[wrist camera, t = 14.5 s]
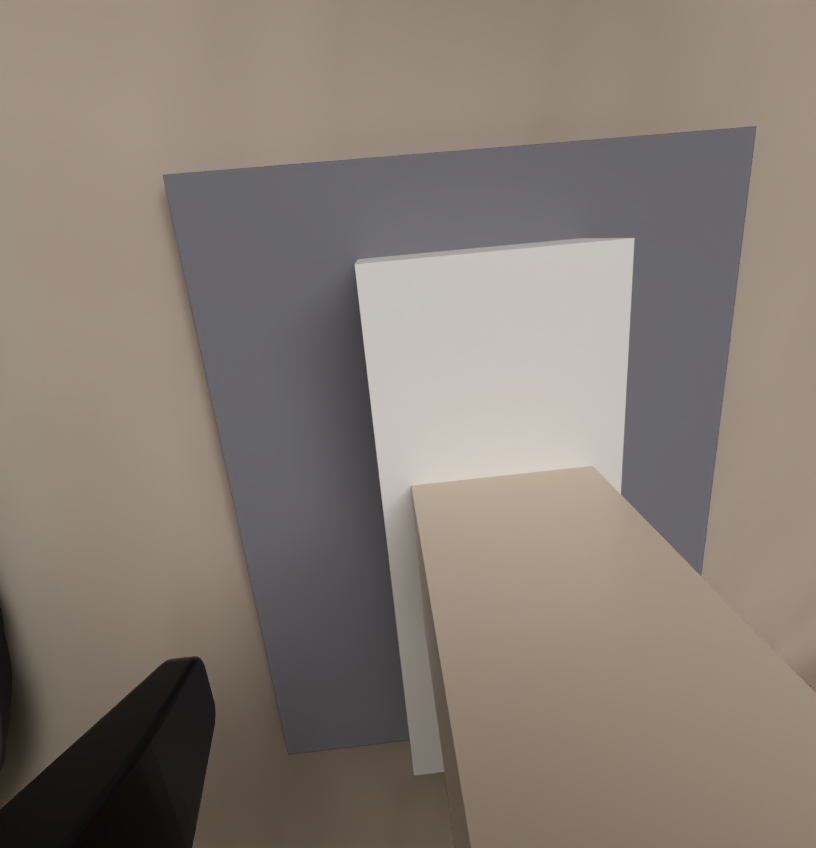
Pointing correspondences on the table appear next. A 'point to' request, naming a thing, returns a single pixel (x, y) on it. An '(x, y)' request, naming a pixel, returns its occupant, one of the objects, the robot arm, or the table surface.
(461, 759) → the plate with square knob
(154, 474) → the table surface
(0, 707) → the salad plate
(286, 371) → the mat
